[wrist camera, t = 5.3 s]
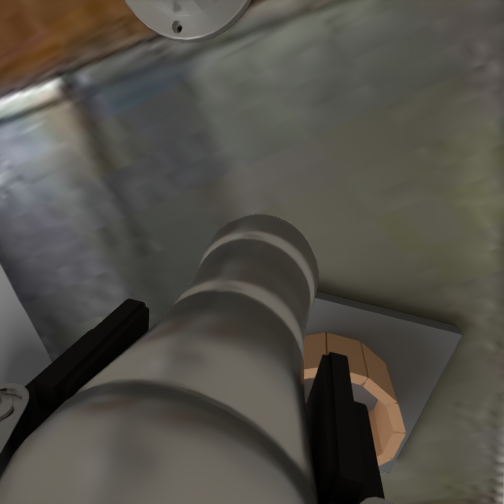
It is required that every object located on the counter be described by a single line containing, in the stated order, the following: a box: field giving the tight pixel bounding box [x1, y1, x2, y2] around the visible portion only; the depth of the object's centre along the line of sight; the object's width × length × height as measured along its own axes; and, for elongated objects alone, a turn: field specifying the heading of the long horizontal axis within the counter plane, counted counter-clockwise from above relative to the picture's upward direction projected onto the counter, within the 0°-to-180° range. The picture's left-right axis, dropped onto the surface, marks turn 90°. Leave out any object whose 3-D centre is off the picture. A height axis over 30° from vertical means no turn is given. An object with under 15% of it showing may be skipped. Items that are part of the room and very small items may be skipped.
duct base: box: [303, 291, 462, 473], centre depth 31 cm, size 20×20×6 cm
